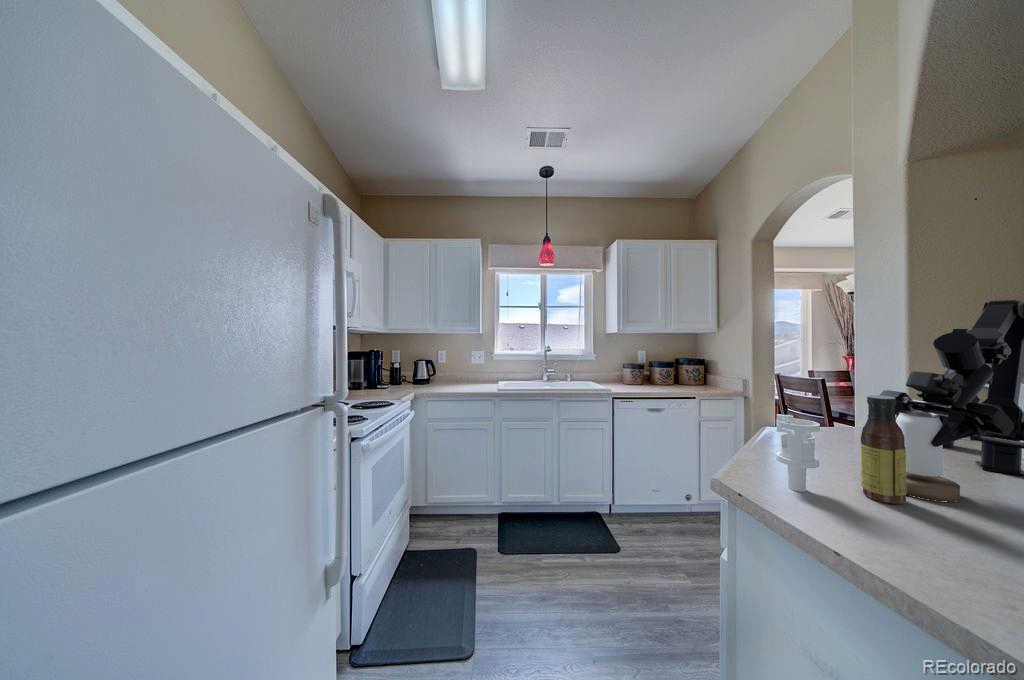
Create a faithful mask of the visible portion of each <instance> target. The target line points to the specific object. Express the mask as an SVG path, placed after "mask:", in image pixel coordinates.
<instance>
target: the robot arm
mask: <svg viewBox="0 0 1024 680" xmlns="http://www.w3.org/2000/svg"><path fill="white" fill-rule="evenodd" d="M977 318H978V319H977V320H976V321H975V323H974V325H973V326H972V327H971V329H970V330H969V329H968V328H953V329H952V331H951V332H948V333H945V334H942V335H940V336H938V337H937V338H936V339H934V340H933V343H932V344H933V347H934V349H935V351H936V353H937V356H938V358H939V361H940V364H941V365H942V367H943V368H944V369H945V368H946V371H945V372H944V373H943V374H941V373H936V372H935V373H934V372H926V371H925V372H924V371H915V370H912V371H910V374H909V376H908V378H907V380H906V383H905V386H906V387H908V388H912V389H914V390H915V391H917V392H915V394H916V395H917V397H918V398H921V399H922V400H917V399H913V398H912V397H910V396H909V394H908V393H907V392H903V391H895V390H889V389H888V390H886V389H884V390H883V391H882V392H881V393H879V394H878V395H879V396H890V397H895V398H896V402H897V404H896V406H895V417H896V418H897V417H898V416H899V414H900V413H899V412H900V411H916V412H922V411H924V412H929V413H931V414H937V415H943V416H948V421H947V422H946V423H945V424H944V426H943V427H942V428H941V429H940V431H939V432H938V433H937V434H936V436H935V437H934V439H933V440H932V442H931V444H932V445H933V446H934V447H938V446H941V445H944V444H947V443H950V442H953V441H958V440H961V439H965V438H970V439H969V440H970V441H973V442H974V441H975V442H976V441H977V442H981V451H980V452H981V454H980V460H979V461H978V460H975V461H974V463H975V464H976V465H977V466H978V467H979V468H980V469H982V470H985V471H989V472H996V473H1003V474H1008V475H1009V474H1010V475H1016V476H1021V477H1024V470H1023V469H1022V458H1023V455H1022V454H1023V452H1022V451H1023V449H1024V410H1023V409H1022V407H1021V406H1019V399H1020V391H1021V385H1022V378H1023V377H1022V376H1023V370H1024V302H1023V301H1022V300H1017V299H1003V300H1001V299H1000V300H989V301H986V302H984V304H983V307H982V312H981V313H980V315H979V317H977ZM989 365H991V367H990V366H989ZM986 385H988V391H987V397H986V398H985V399H984V400H982V402H980V401H981V399H980V397H978V394H979V393H980V392H981V391H982V390H983V388H984V387H985V386H986Z"/></svg>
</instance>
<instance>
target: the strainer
mask: <svg viewBox="0 0 1024 680" xmlns="http://www.w3.org/2000/svg"><path fill="white" fill-rule="evenodd" d="M820 430H821V424H820V423H819V422H817V421H813V420H808V419H802V418H794V415H792V414H779V413H778V414H777V413H776V432H778V433H781V434H780V450H779V451H777V452H775V460H776V461H778V462H779V463H781V464H783V465H786V466H787V483H786V485H787V488H788V489H789V490H791V491H795V492H798V493H799V492H801V493H802V492H806V491H807V469H817V468H819V467H820V460H819V458H817V457H816V456H815V446H816V445H815V441H816V439H815V438H816V437H815V436H814V435H812V433H814V432H819V431H820Z"/></svg>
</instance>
